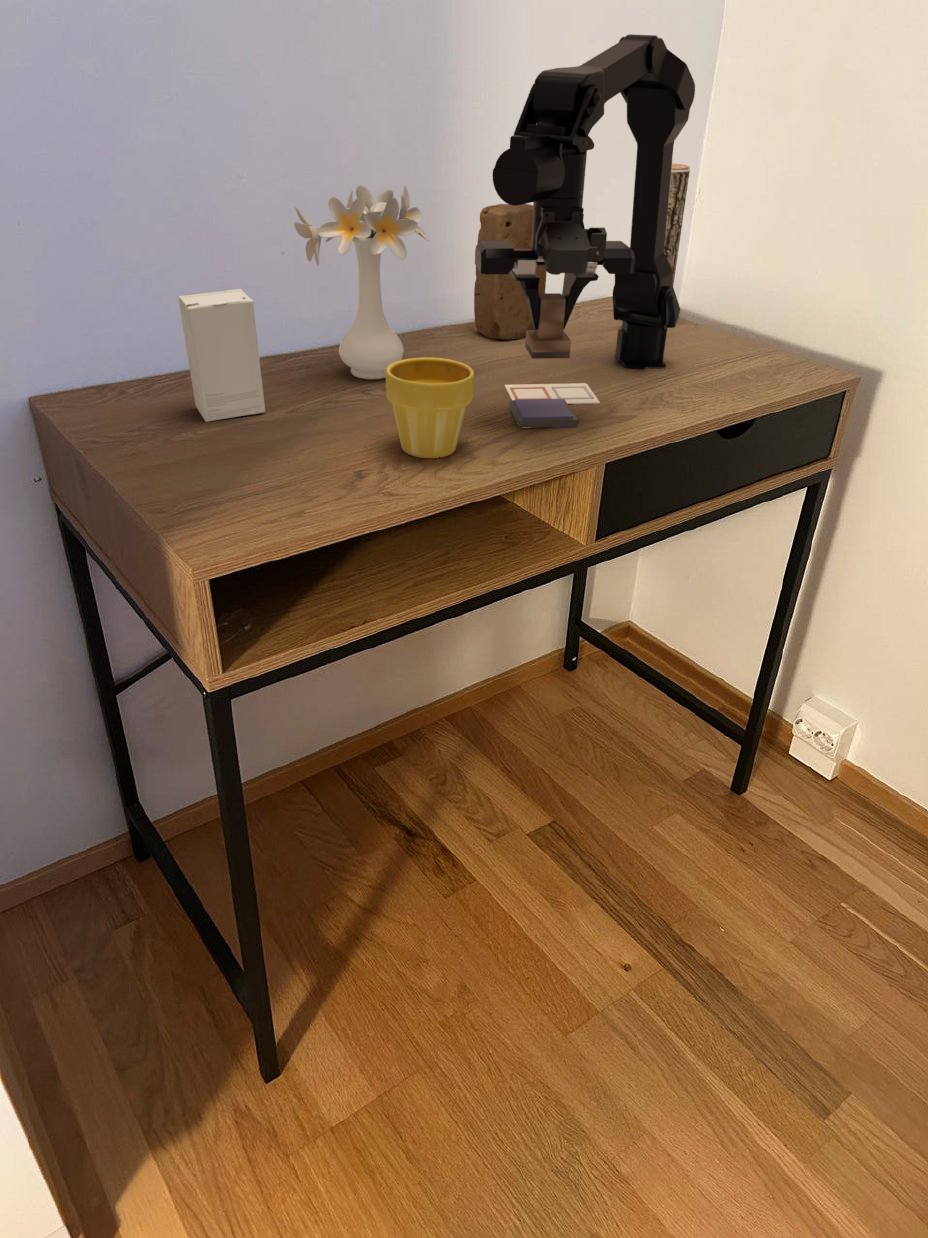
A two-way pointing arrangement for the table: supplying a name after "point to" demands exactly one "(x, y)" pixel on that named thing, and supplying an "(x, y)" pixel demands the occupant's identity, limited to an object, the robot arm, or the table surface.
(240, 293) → the skincare box
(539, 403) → the inkpad
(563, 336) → the stamp
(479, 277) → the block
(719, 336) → the table surface
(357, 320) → the flower vase
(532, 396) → the sheet
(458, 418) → the plant pot
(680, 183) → the bark patterned cylinder
